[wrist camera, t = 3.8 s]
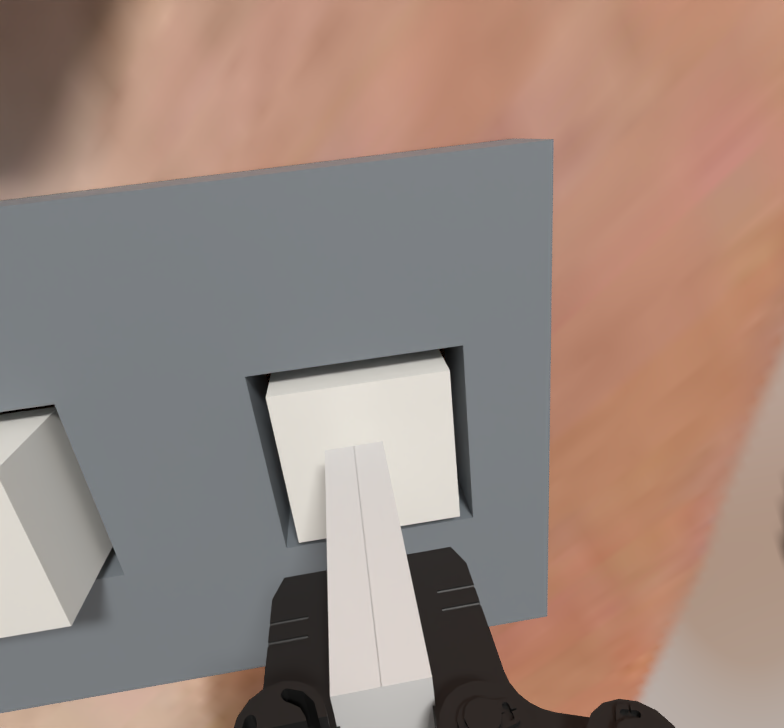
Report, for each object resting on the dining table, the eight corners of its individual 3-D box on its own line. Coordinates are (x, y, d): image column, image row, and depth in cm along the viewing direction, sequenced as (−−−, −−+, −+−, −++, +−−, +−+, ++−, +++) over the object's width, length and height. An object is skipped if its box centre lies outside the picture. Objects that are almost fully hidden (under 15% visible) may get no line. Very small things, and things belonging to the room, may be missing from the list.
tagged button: (303, 480, 19) (298, 542, 16) (275, 352, 17) (265, 397, 14) (439, 459, 19) (460, 516, 17) (429, 330, 17) (449, 370, 15)
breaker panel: (-33, 650, 21) (-91, 734, 18) (-288, 235, 14) (-445, 261, 11) (519, 556, 22) (549, 620, 19) (513, 138, 16) (556, 139, 13)
